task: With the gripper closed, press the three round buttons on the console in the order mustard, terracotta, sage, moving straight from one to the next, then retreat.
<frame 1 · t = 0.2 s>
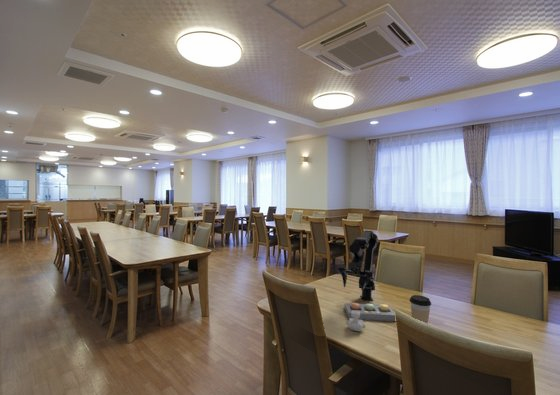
hand: (353, 288, 147), 15 cm above the table, tool tilted 30°, fingers open, 9 cm apart
console: (369, 314, 150), on the table
button terracotta: (355, 307, 151), point 3 cm above the table, slide at 0.0 cm
button mustard: (384, 309, 150), point 3 cm above the table, slide at 0.0 cm
stamp: (355, 329, 133), on the table
coffee cup: (419, 329, 135), on the table
button sage: (369, 308, 150), point 3 cm above the table, slide at 0.0 cm
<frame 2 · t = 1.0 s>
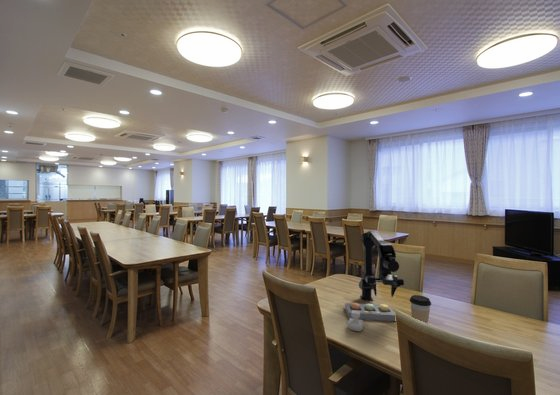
hand: (383, 296, 150), 10 cm above the table, tool pointing down, fingers open, 8 cm apart
nothing on the table moved.
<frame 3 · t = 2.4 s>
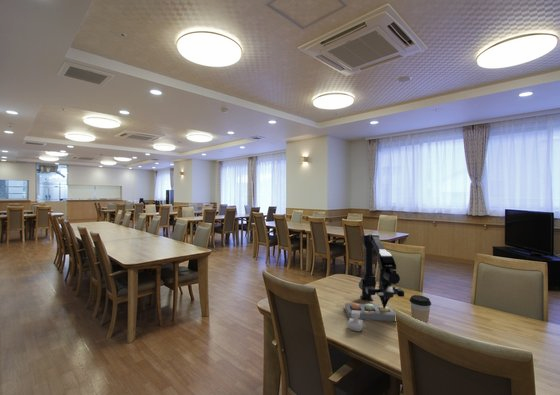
hand: (384, 307, 150), 4 cm above the table, tool pointing down, fingers closed, pressing on button mustard
button mustard: (384, 310, 150), point 2 cm above the table, slide at 0.9 cm, touching gripper
everything else where it was.
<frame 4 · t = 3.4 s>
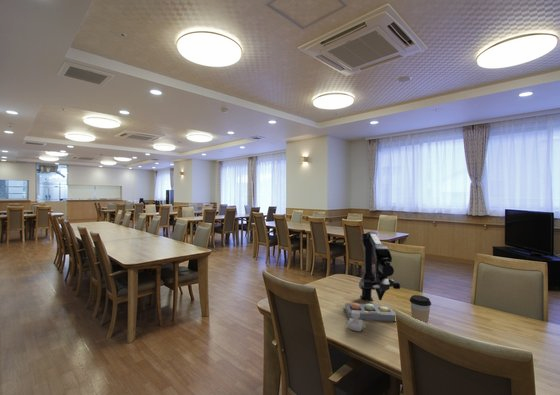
hand: (380, 300, 150), 8 cm above the table, tool pointing down, fingers closed
button mustard: (384, 311, 150), point 2 cm above the table, slide at 1.2 cm
everything else where it was.
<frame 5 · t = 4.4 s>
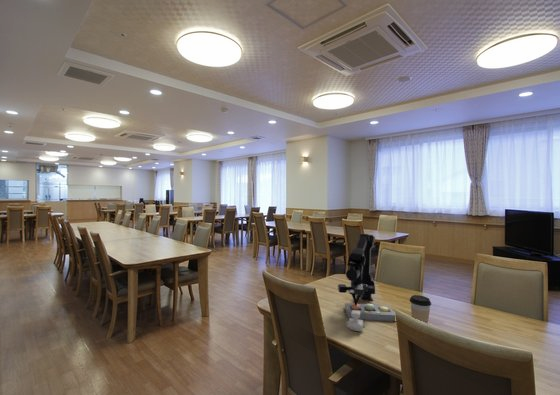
hand: (355, 305, 151), 5 cm above the table, tool pointing down, fingers closed, pressing on button terracotta
button terracotta: (355, 308, 151), point 3 cm above the table, slide at 0.3 cm, touching gripper
everything else where it was.
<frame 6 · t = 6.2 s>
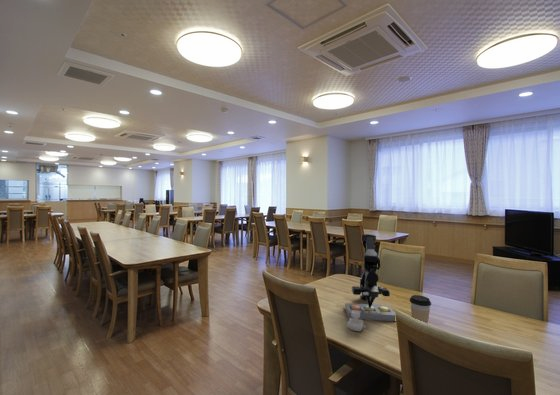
hand: (369, 307, 150), 4 cm above the table, tool pointing down, fingers closed, pressing on button sage
button terracotta: (355, 309, 151), point 2 cm above the table, slide at 1.2 cm
button sage: (369, 310, 150), point 2 cm above the table, slide at 1.1 cm, touching gripper
everything else where it was.
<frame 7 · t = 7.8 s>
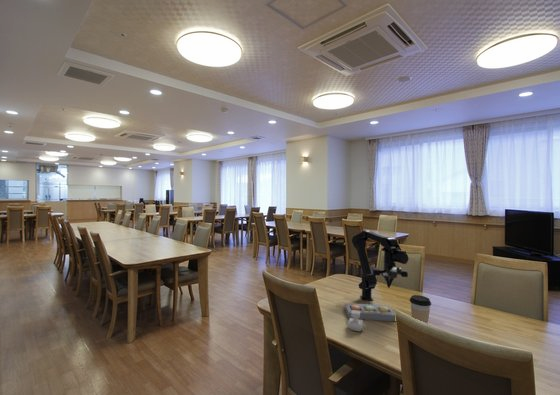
hand: (388, 287, 159), 12 cm above the table, tool pointing down, fingers closed
button sage: (369, 310, 150), point 2 cm above the table, slide at 1.2 cm
everything else where it was.
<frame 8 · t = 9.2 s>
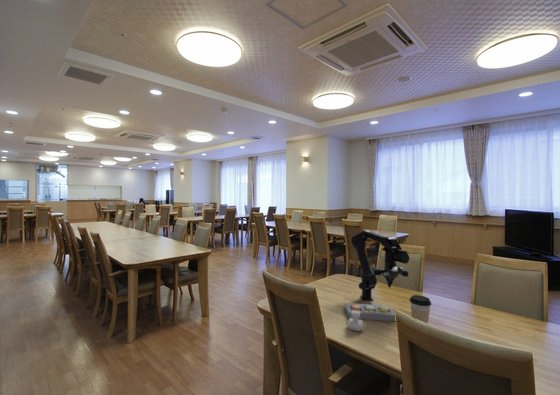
hand: (389, 287, 159), 12 cm above the table, tool pointing down, fingers closed
nothing on the table moved.
at the end: button mustard slide at 1.2 cm; button terracotta slide at 1.2 cm; button sage slide at 1.2 cm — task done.
